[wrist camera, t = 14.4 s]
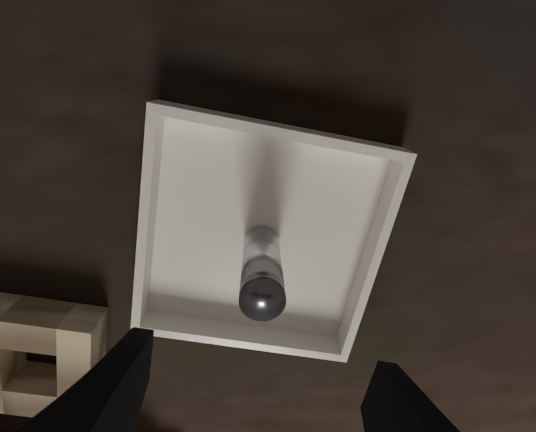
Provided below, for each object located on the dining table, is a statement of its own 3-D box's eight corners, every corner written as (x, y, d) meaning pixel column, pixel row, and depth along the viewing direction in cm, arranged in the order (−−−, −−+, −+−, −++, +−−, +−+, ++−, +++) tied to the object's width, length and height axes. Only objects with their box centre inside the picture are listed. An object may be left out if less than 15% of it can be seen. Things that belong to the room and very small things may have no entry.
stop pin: (248, 222, 20) (244, 276, 15) (282, 229, 21) (291, 286, 15) (240, 252, 21) (234, 316, 16) (274, 259, 21) (279, 325, 16)
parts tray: (157, 99, 18) (146, 101, 17) (401, 146, 20) (417, 154, 18) (140, 311, 23) (130, 332, 21) (339, 340, 24) (346, 362, 22)
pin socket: (-10, 290, 22) (-42, 316, 20) (108, 307, 23) (91, 333, 20) (-2, 378, 25) (-29, 410, 22) (104, 391, 25) (89, 423, 23)
